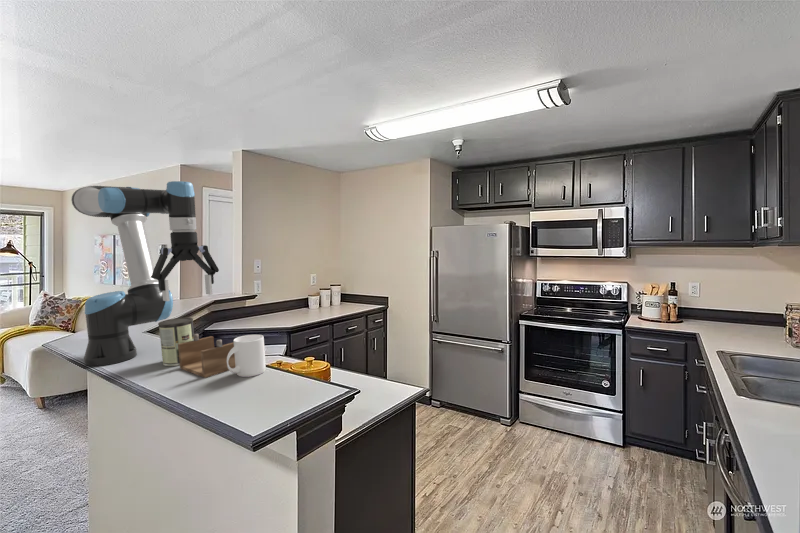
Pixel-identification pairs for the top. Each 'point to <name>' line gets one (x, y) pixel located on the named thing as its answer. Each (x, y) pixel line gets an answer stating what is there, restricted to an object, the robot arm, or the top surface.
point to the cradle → (205, 356)
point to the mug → (248, 355)
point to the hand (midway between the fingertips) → (188, 297)
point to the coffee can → (174, 338)
